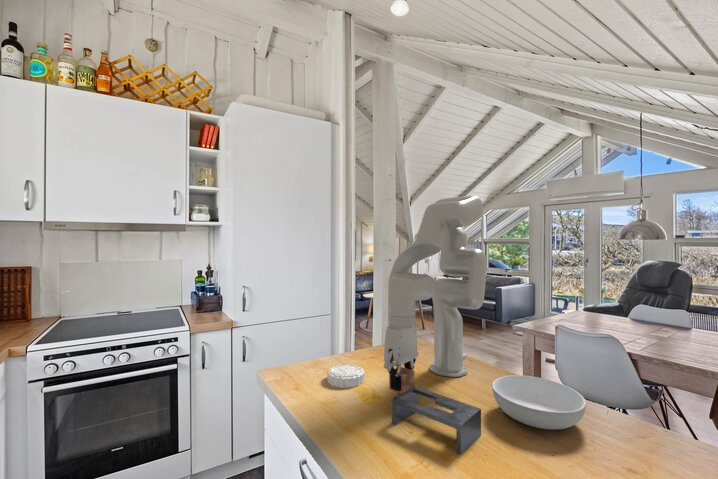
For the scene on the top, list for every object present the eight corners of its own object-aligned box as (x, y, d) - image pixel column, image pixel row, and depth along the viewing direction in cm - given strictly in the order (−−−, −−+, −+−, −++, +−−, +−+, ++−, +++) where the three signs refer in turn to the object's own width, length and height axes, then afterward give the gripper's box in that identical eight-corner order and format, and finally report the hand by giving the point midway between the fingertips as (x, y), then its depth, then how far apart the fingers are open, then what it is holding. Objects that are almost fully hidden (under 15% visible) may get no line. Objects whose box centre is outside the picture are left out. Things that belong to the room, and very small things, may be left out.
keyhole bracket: (392, 423, 84) (392, 398, 84) (415, 409, 91) (415, 386, 91) (460, 454, 71) (460, 425, 71) (481, 435, 79) (481, 408, 79)
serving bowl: (533, 449, 73) (533, 417, 74) (475, 404, 94) (475, 379, 94) (608, 434, 79) (608, 404, 79) (538, 395, 99) (538, 371, 99)
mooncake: (371, 384, 107) (371, 373, 107) (335, 391, 102) (335, 379, 102) (354, 371, 118) (354, 361, 118) (322, 377, 113) (322, 366, 113)
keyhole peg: (399, 395, 99) (399, 366, 99) (415, 401, 95) (415, 370, 95) (388, 402, 95) (388, 371, 95) (404, 408, 91) (404, 376, 92)
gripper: (408, 314, 104) (408, 374, 104) (371, 324, 92) (371, 392, 91) (429, 317, 99) (429, 381, 99) (393, 328, 87) (394, 401, 86)
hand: (401, 385), depth 95 cm, fingers closed on keyhole peg, 5 cm apart
